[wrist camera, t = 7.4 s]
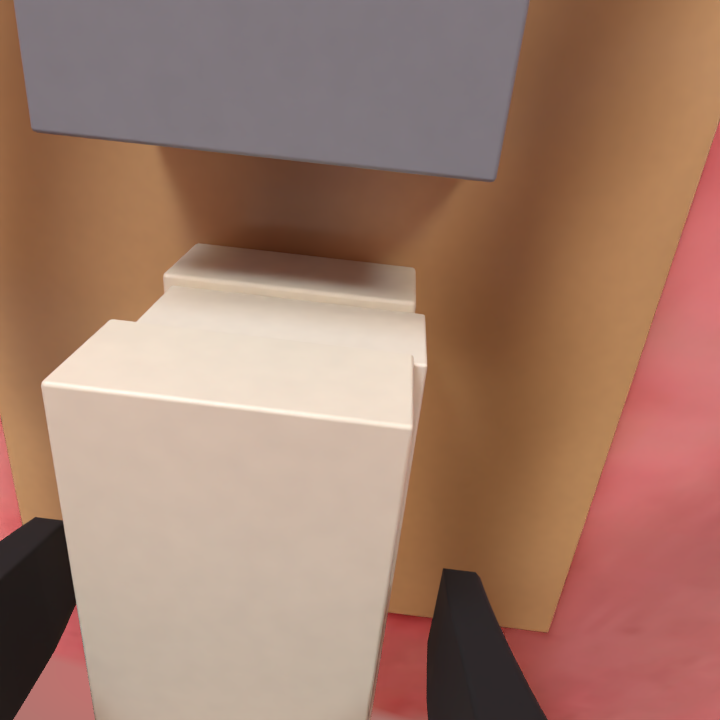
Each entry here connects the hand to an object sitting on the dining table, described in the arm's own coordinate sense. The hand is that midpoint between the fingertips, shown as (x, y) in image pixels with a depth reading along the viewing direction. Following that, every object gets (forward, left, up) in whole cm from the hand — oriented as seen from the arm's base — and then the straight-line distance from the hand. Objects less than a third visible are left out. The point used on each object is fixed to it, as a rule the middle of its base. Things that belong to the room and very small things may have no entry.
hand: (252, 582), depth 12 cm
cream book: (0, 0, 0) cm, 1 cm away
